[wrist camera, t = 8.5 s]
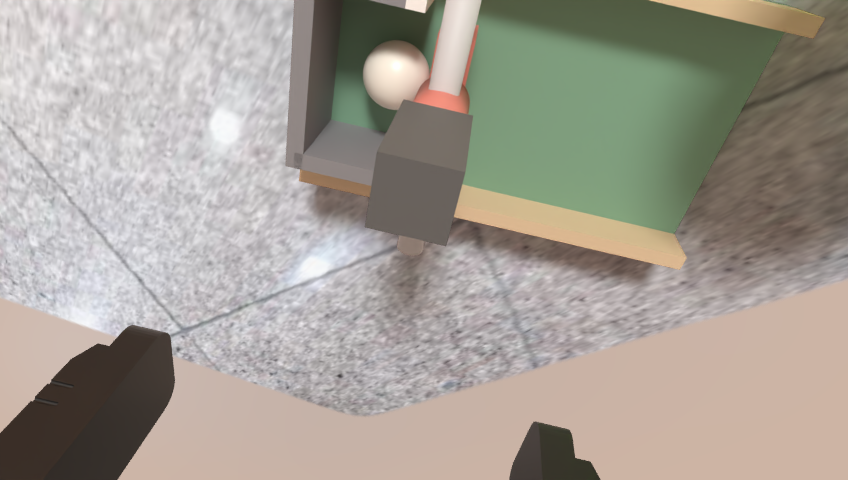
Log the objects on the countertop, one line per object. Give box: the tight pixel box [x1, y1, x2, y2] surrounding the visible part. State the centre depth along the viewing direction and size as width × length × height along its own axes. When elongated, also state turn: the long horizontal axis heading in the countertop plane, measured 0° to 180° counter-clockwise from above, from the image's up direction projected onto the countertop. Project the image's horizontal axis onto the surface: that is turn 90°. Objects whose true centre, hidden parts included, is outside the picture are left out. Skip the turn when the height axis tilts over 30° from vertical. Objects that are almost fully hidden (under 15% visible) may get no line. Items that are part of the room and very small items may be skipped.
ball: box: [363, 40, 430, 110], centre depth 32 cm, size 4×4×4 cm
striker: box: [365, 0, 482, 256], centre depth 26 cm, size 3×17×16 cm, turn 169°
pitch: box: [286, 0, 825, 270], centre depth 31 cm, size 26×16×7 cm, turn 79°
